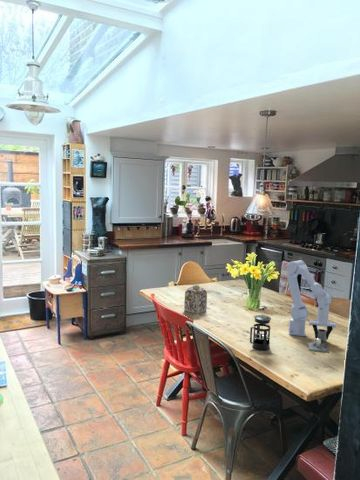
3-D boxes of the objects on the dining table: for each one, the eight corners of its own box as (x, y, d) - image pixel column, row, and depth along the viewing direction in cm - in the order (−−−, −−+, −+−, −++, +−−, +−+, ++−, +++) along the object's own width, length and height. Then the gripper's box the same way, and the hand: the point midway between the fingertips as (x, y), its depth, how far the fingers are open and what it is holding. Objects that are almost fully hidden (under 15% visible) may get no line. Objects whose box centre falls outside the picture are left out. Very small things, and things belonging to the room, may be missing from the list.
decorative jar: (197, 314, 274) (198, 288, 272) (183, 311, 281) (184, 285, 279) (207, 310, 284) (208, 285, 281) (193, 307, 290) (194, 282, 288)
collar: (316, 341, 229) (317, 331, 228) (315, 338, 235) (316, 328, 234) (326, 342, 228) (327, 332, 227) (325, 339, 233) (326, 329, 233)
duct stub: (309, 350, 218) (309, 341, 217) (307, 343, 227) (308, 334, 227) (328, 352, 215) (329, 343, 215) (326, 345, 225) (327, 336, 224)
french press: (266, 343, 226) (268, 303, 223) (273, 350, 217) (276, 308, 214) (246, 344, 223) (248, 304, 220) (253, 351, 214) (255, 309, 211)
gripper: (310, 316, 227) (308, 339, 229) (337, 318, 224) (335, 342, 226) (309, 312, 234) (307, 334, 236) (335, 314, 231) (333, 337, 233)
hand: (321, 338), depth 231 cm, fingers closed on collar, 5 cm apart
